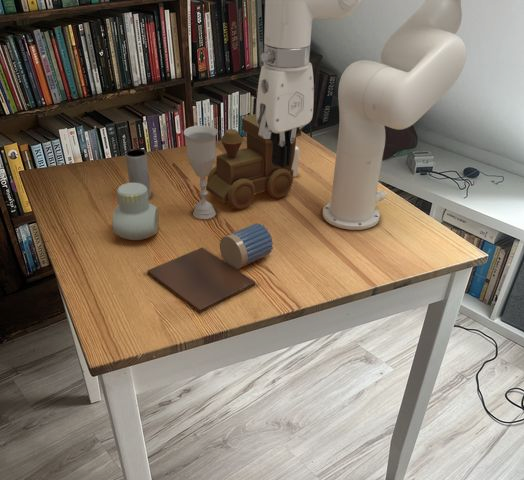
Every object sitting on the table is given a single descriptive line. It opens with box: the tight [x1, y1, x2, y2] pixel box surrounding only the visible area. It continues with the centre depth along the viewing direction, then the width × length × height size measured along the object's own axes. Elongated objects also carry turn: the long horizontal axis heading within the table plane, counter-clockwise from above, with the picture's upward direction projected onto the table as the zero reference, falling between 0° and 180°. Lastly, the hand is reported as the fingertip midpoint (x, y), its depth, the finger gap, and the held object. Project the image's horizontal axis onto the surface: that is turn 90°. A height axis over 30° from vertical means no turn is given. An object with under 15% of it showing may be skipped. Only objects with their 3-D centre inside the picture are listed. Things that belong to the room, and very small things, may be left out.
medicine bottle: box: [291, 145, 300, 178], centre depth 138 cm, size 7×7×12 cm
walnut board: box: [147, 247, 256, 314], centre depth 105 cm, size 13×16×1 cm
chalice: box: [183, 124, 219, 220], centre depth 119 cm, size 7×7×18 cm
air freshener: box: [112, 182, 160, 241], centre depth 114 cm, size 11×8×10 cm
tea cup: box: [219, 222, 274, 270], centre depth 109 cm, size 8×7×7 cm
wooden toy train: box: [205, 113, 303, 210], centre depth 127 cm, size 20×11×17 cm, turn 124°
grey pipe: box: [125, 148, 152, 199], centre depth 127 cm, size 4×4×10 cm
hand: (281, 163), depth 104 cm, fingers closed
